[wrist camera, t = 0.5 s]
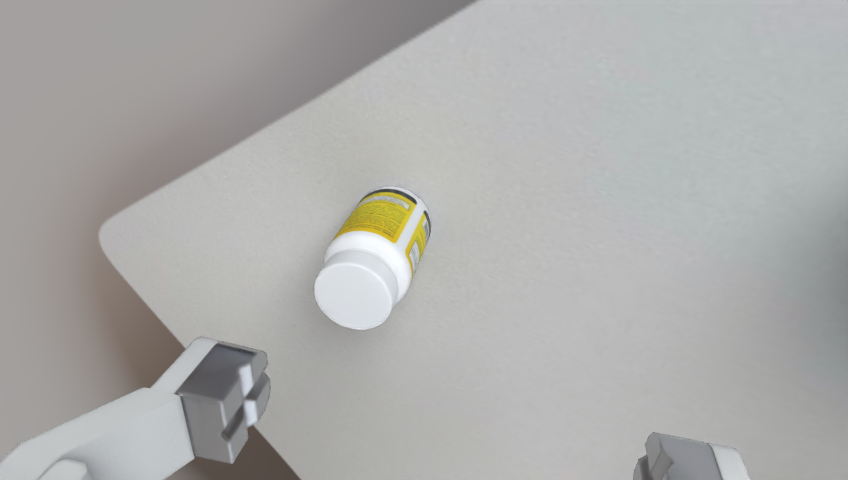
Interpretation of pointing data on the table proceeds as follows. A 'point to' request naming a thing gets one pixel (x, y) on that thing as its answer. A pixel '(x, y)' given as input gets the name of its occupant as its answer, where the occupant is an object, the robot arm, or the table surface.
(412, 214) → the supplement bottle
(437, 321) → the table surface
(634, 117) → the table surface
